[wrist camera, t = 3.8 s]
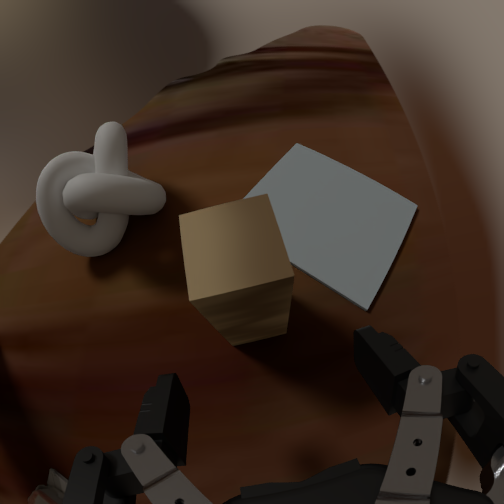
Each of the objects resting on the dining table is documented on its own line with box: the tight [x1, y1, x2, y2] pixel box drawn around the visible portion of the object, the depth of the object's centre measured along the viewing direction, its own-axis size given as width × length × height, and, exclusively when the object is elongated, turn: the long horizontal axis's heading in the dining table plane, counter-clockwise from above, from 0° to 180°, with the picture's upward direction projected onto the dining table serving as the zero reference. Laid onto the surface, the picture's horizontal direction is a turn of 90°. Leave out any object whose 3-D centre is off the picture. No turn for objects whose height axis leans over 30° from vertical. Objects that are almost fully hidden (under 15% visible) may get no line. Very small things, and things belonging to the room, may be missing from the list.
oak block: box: [179, 194, 294, 346], centre depth 16 cm, size 4×4×11 cm
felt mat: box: [244, 143, 417, 311], centre depth 24 cm, size 14×12×1 cm
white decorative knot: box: [36, 122, 166, 257], centre depth 23 cm, size 11×12×9 cm
